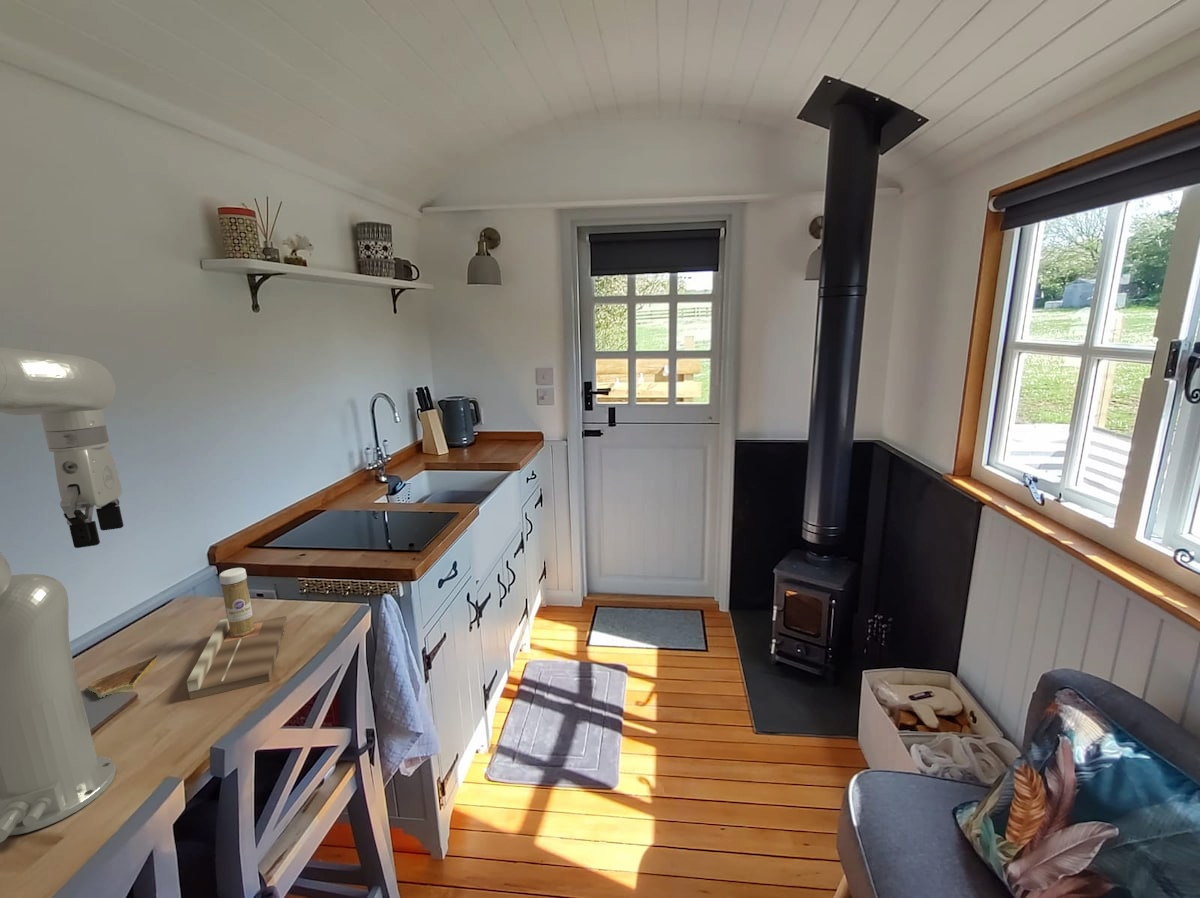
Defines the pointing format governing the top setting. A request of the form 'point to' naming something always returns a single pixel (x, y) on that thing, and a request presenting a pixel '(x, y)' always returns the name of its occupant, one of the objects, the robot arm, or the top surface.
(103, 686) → the shard
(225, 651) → the guide board
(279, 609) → the top surface
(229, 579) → the sprinkles bottle
